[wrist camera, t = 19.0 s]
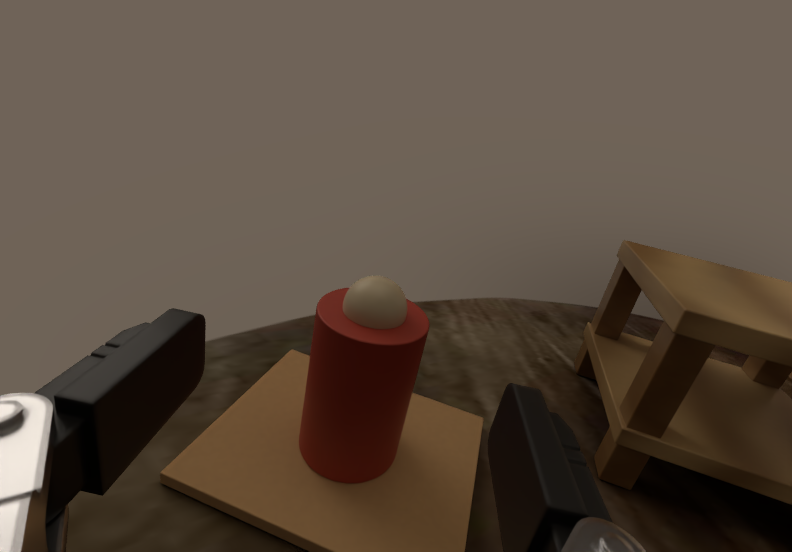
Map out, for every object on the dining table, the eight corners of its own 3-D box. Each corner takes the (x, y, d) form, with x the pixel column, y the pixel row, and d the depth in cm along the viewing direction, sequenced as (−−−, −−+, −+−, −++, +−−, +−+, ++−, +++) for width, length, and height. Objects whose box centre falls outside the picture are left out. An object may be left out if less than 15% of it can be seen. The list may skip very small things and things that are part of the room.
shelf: (741, 415, 29) (824, 290, 26) (869, 581, 18) (1046, 409, 15) (570, 360, 32) (623, 239, 28) (594, 480, 21) (685, 308, 17)
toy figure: (407, 426, 21) (447, 276, 18) (378, 500, 17) (423, 321, 13) (325, 396, 22) (349, 247, 19) (278, 459, 18) (299, 281, 14)
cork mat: (481, 426, 23) (483, 417, 23) (452, 618, 14) (456, 608, 14) (290, 357, 25) (291, 349, 25) (160, 483, 16) (159, 472, 16)
